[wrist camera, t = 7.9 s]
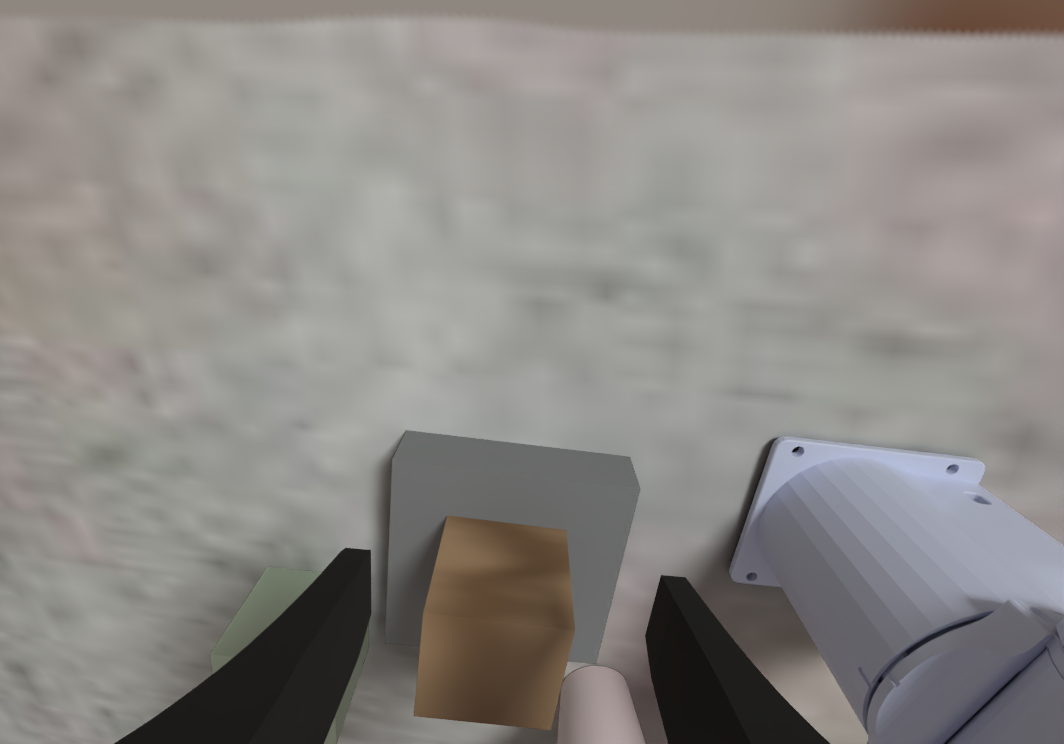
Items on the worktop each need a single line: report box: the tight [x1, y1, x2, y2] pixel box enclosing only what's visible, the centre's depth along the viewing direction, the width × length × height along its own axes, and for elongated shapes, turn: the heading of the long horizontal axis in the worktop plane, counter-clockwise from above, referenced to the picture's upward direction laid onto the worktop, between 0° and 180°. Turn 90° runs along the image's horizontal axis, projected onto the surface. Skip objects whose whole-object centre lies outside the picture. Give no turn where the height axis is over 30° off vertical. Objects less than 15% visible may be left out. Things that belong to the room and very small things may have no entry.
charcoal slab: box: [385, 430, 640, 664], centre depth 24 cm, size 10×10×3 cm
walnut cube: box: [414, 515, 575, 730], centre depth 20 cm, size 5×5×5 cm
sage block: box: [210, 567, 369, 744], centre depth 24 cm, size 5×5×5 cm
